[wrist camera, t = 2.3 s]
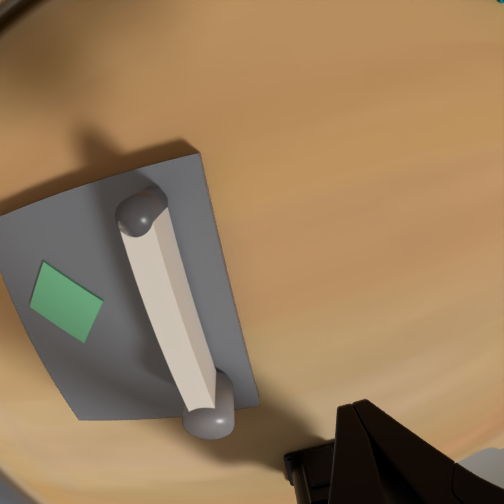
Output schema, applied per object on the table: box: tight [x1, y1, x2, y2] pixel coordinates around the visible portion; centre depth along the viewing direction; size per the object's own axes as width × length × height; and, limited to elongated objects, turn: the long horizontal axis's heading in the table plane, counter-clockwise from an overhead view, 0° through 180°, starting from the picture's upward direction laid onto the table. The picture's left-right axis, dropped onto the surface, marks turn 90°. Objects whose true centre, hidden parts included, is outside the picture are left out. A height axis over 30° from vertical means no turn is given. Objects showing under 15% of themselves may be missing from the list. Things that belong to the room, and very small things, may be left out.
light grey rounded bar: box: [115, 186, 234, 440], centre depth 17 cm, size 16×3×4 cm, turn 11°
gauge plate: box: [0, 153, 260, 420], centre depth 20 cm, size 18×16×1 cm
